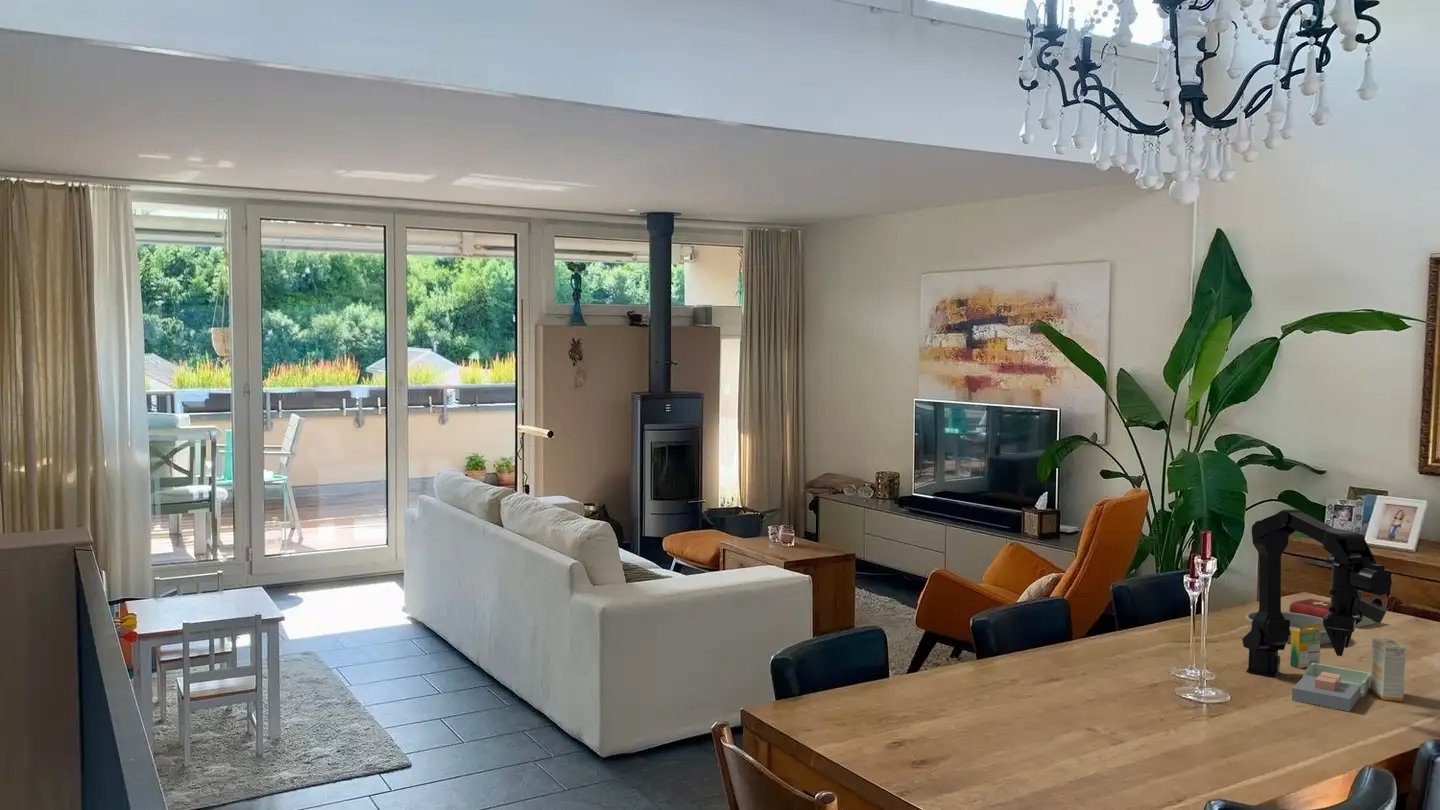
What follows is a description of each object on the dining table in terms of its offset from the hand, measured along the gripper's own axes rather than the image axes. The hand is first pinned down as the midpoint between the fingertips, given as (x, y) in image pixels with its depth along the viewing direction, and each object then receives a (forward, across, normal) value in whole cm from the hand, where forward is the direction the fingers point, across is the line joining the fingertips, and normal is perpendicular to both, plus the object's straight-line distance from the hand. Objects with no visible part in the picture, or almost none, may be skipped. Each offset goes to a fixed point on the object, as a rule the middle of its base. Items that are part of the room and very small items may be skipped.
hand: (1342, 651), depth 254 cm
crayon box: (+13, +30, +12) cm, 35 cm away
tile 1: (+10, +2, +3) cm, 10 cm away
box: (+13, +16, +3) cm, 20 cm away
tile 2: (+10, +6, +3) cm, 12 cm away
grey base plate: (+13, +3, +3) cm, 13 cm away
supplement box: (+13, +16, -8) cm, 22 cm away
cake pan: (+13, +64, +21) cm, 68 cm away
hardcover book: (+13, +95, +15) cm, 97 cm away
